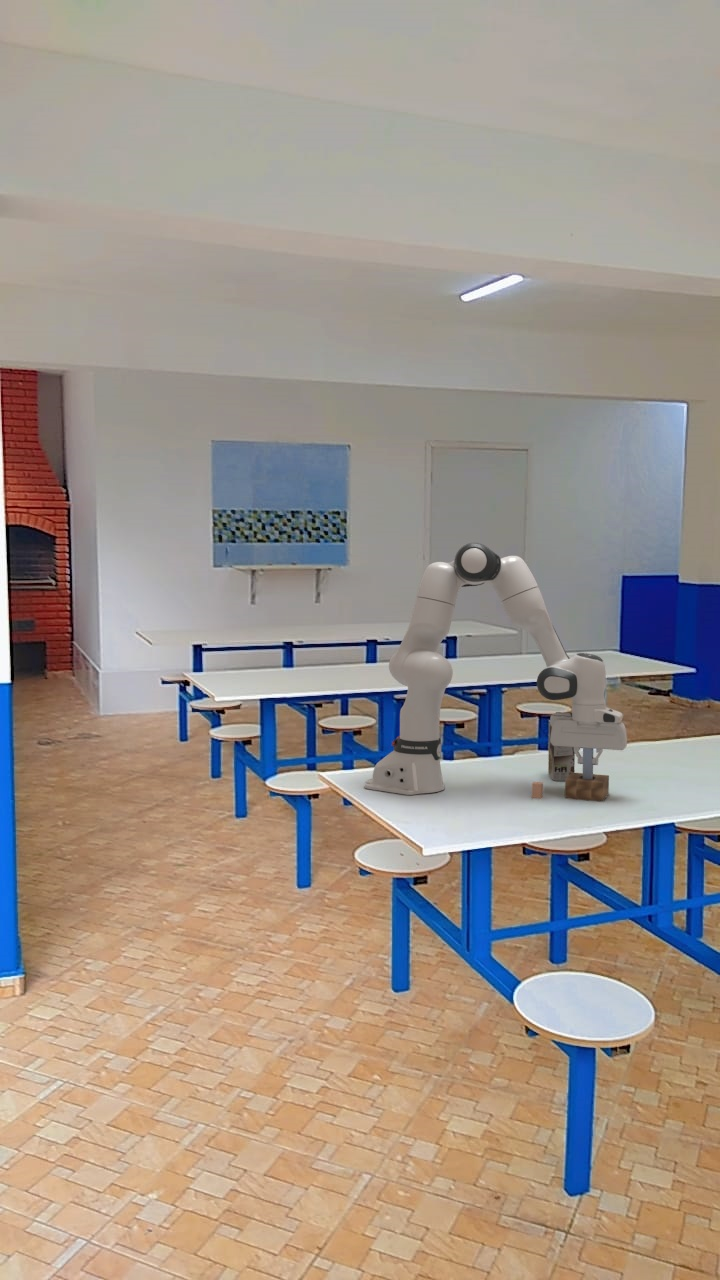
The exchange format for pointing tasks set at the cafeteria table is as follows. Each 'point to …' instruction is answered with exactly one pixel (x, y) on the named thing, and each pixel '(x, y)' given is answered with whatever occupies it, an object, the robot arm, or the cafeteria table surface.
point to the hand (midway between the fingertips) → (587, 764)
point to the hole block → (587, 787)
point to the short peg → (537, 790)
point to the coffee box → (560, 761)
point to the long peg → (587, 763)
